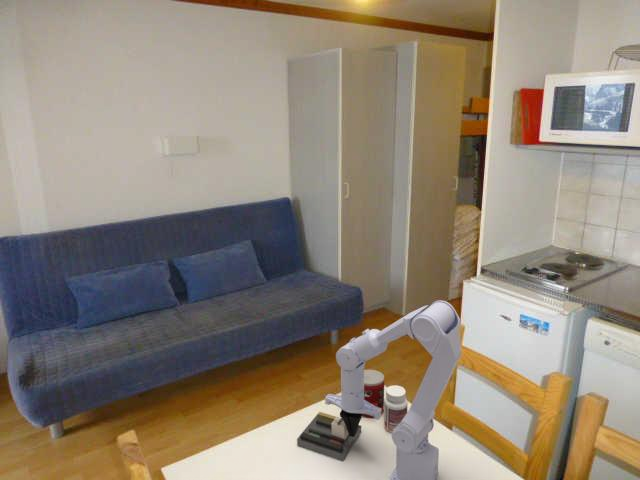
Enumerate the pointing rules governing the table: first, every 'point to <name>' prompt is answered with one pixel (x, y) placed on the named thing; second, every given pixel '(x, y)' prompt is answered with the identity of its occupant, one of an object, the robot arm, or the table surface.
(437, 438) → the table surface
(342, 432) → the block
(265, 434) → the table surface
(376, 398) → the canned food
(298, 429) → the table surface
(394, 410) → the pill bottle
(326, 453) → the breaker panel
